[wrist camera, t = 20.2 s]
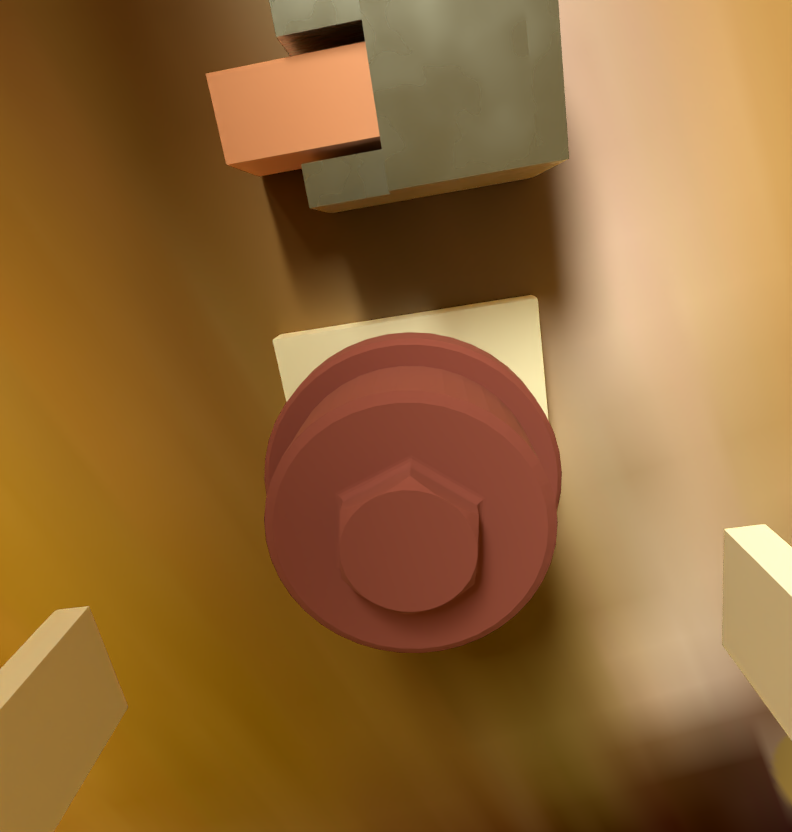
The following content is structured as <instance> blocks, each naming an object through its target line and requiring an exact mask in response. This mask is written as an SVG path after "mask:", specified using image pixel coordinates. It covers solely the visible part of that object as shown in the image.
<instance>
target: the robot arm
mask: <svg viewBox="0 0 792 832" xmlns="http://www.w3.org/2000/svg"><path fill="white" fill-rule="evenodd" d="M722 645H723V647H724V648H725V649H726V651H727V652H728V653H729V655H730V656H731V658H732V659H733V660H734V662H735V663H736V664H737V666H738V667H739V669H740V670H741V671H742V673H743V674H744V676H745V677H746V678H747V680H748V681H749V682H750V684H751V685H752V687H753V688H754V689H755V691H756V692H757V693H758V695H759V696H760V698H761V699H762V700H763V702H764V703H765V705H766V706H767V707H768V709H769V710H770V711H771V713H772V714H773V716H774V717H775V718H776V720H777V721H778V722H779V724H780V725H781V727H782V728H783V729H784V731H785V732H786V734H787V735H788V736H789V738H790V739H791V740H792V547H791V546H790V545H789V544H787V543H786V542H785V541H784V540H783V539H782V538H780V537H779V536H778V535H777V534H776V533H775V532H773V531H772V530H771V529H770V528H769V527H768V526H767V525H765V524H762V525H753V526H745V527H737V528H729V529H724V559H723V622H722ZM127 708H128V705H127V703H126V700H125V697H124V695H123V692H122V690H121V687H120V685H119V682H118V679H117V677H116V674H115V672H114V669H113V667H112V664H111V661H110V659H109V656H108V654H107V651H106V648H105V646H104V643H103V641H102V638H101V636H100V633H99V630H98V628H97V625H96V623H95V620H94V618H93V615H92V612H91V610H90V607H89V606H85V607H77V608H69V609H61V610H55V611H54V612H53V613H52V614H51V615H50V616H49V618H48V619H47V620H46V621H45V622H44V623H43V624H42V625H41V626H40V627H39V628H38V629H37V630H36V631H35V633H34V634H33V635H32V636H31V637H30V638H29V639H28V640H27V641H26V642H25V643H24V644H23V645H22V646H21V647H20V649H19V650H18V651H17V652H16V653H15V654H14V655H13V656H12V657H11V658H10V659H9V660H8V661H7V662H6V663H5V665H4V666H3V667H2V668H1V669H0V832H54V830H55V829H56V827H57V825H58V824H59V822H60V820H61V819H62V817H63V815H64V814H65V812H66V810H67V808H68V807H69V805H70V803H71V802H72V800H73V798H74V797H75V795H76V793H77V792H78V790H79V788H80V787H81V785H82V783H83V782H84V780H85V778H86V777H87V775H88V773H89V772H90V770H91V768H92V767H93V765H94V763H95V762H96V760H97V758H98V757H99V755H100V753H101V752H102V750H103V748H104V747H105V745H106V743H107V742H108V740H109V738H110V737H111V735H112V733H113V732H114V730H115V728H116V727H117V725H118V723H119V722H120V720H121V718H122V717H123V715H124V713H125V712H126V710H127Z"/></svg>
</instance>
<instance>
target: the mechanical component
mask: <svg viewBox="0 0 792 832" xmlns="http://www.w3.org/2000/svg"><path fill="white" fill-rule="evenodd" d="M561 477H562V471H561V462H560V453H559V449H558V445H557V442H556V438H555V435H554V432H553V430H552V427H551V425H550V423H549V421H548V419H547V416H546V414H545V413H544V411H543V410H542V408H541V406H540V405H539V403H538V402H537V400H536V399H535V397H534V396H533V394H532V393H531V392H530V390H529V389H528V388H527V386H526V385H525V384H524V382H523V381H522V380H521V379H520V378H519V377H518V376H517V375H516V374H515V373H514V372H513V371H512V370H511V369H510V368H509V367H508V366H506V365H505V364H504V363H502V362H501V361H499V360H498V359H497V358H495V357H494V356H492V355H491V354H489V353H487V352H486V351H484V350H482V349H480V348H478V347H476V346H474V345H472V344H469V343H466V342H464V341H461V340H458V339H455V338H452V337H447V336H442V335H437V334H432V333H416V332H405V333H394V334H386V335H382V336H378V337H374V338H369V339H366V340H363V341H361V342H358V343H356V344H353V345H351V346H348V347H346V348H344V349H343V350H341V351H339V352H338V353H336V354H334V355H332V356H331V357H329V358H328V359H327V360H325V361H324V362H323V363H322V364H320V365H319V366H318V367H317V368H315V369H314V370H313V371H312V372H311V373H310V374H309V375H308V376H307V378H306V379H305V380H304V381H303V382H302V383H301V384H300V385H299V386H298V388H297V389H296V390H295V392H294V393H293V394H292V396H291V397H290V398H289V400H288V401H287V402H286V403H285V405H284V407H283V409H282V411H281V412H280V414H279V416H278V418H277V420H276V422H275V424H274V427H273V430H272V433H271V436H270V438H269V442H268V447H267V453H266V458H265V487H266V496H267V497H266V505H265V517H264V523H265V534H266V542H267V546H268V549H269V553H270V557H271V560H272V563H273V565H274V567H275V569H276V571H277V574H278V576H279V578H280V580H281V581H282V583H283V584H284V586H285V587H286V589H287V590H288V592H289V593H290V595H291V596H292V597H293V598H294V599H295V601H296V602H297V603H298V604H299V605H300V606H301V607H302V608H303V609H304V611H306V612H307V613H308V614H309V615H310V616H312V617H313V618H314V619H315V620H317V621H318V622H319V623H320V624H322V625H323V626H325V627H326V628H328V629H330V630H331V631H333V632H335V633H336V634H338V635H340V636H342V637H344V638H347V639H349V640H351V641H354V642H356V643H358V644H362V645H365V646H369V647H372V648H375V649H380V650H386V651H393V652H399V653H425V652H434V651H442V650H446V649H450V648H454V647H458V646H462V645H465V644H467V643H470V642H472V641H475V640H477V639H480V638H482V637H484V636H486V635H488V634H489V633H491V632H493V631H495V630H496V629H498V628H500V627H501V626H502V625H504V624H505V623H506V622H507V621H509V620H510V619H511V618H513V617H514V616H515V615H516V614H517V613H518V612H519V611H520V610H521V609H522V608H523V607H524V606H525V605H526V604H527V603H528V602H529V601H530V599H531V598H532V597H533V595H534V594H535V592H536V591H537V589H538V588H539V586H540V585H541V583H542V581H543V579H544V577H545V575H546V573H547V570H548V568H549V566H550V564H551V560H552V556H553V553H554V549H555V545H556V536H557V523H558V522H557V508H558V503H559V498H560V494H561Z"/></svg>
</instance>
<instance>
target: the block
mask: <svg viewBox="0 0 792 832" xmlns="http://www.w3.org/2000/svg"><path fill="white" fill-rule="evenodd" d="M405 332H416V333H432V334H437V335H442V336H447V337H452V338H455V339H458V340H461V341H464V342H466V343H469V344H472V345H474V346H476V347H478V348H480V349H482V350H484V351H486V352H487V353H489V354H491V355H492V356H494V357H495V358H497V359H498V360H499V361H501V362H502V363H504V364H505V365H506V366H508V367H509V368H510V369H511V370H512V371H513V372H514V373H515V374H516V375H517V376H518V377H519V378H520V379H521V380H522V381H523V382H524V384H525V385H526V386H527V388H528V389H529V390H530V392H531V393H532V394H533V396H534V397H535V399H536V400H537V402H538V403H539V405H540V406H541V408H542V410H543V411H544V413H545V414H546V416H547V419H548V410H547V399H546V387H545V376H544V365H543V354H542V342H541V331H540V320H539V309H538V298H536V297H535V296H533V295H527V296H520V297H514V298H508V299H501V300H495V301H489V302H482V303H476V304H470V305H463V306H457V307H451V308H444V309H438V310H432V311H425V312H419V313H413V314H406V315H400V316H394V317H387V318H381V319H375V320H368V321H362V322H356V323H349V324H343V325H337V326H330V327H324V328H318V329H311V330H305V331H299V332H292V333H286V334H280V335H279V336H277V337H276V338H274V339H273V345H274V349H275V353H276V358H277V362H278V367H279V371H280V375H281V380H282V384H283V389H284V393H285V397H286V402H287V401H288V400H289V398H290V397H291V396H292V394H293V393H294V392H295V390H296V389H297V388H298V386H299V385H300V384H301V383H302V382H303V381H304V380H305V379H306V378H307V376H308V375H309V374H310V373H311V372H312V371H313V370H314V369H315V368H317V367H318V366H319V365H320V364H322V363H323V362H324V361H325V360H327V359H328V358H329V357H331V356H332V355H334V354H336V353H338V352H339V351H341V350H343V349H344V348H346V347H348V346H351V345H353V344H356V343H358V342H361V341H363V340H366V339H369V338H374V337H378V336H382V335H386V334H394V333H405Z"/></svg>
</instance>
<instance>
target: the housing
mask: <svg viewBox="0 0 792 832" xmlns="http://www.w3.org/2000/svg"><path fill="white" fill-rule="evenodd" d="M269 3H270V8H271V13H272V18H273V23H274V28H275V33H276V37H277V39H278V40H279V41H280V43H281V44H282V45H283V47H284V48H285V50H286V51H287V52H288V54H289V55H290V56H295V55H300V54H305V53H310V52H315V51H320V50H325V49H330V48H335V47H340V46H345V45H350V44H355V43H359V42H364V41H365V44H366V50H367V57H368V63H369V69H370V76H371V82H372V89H373V95H374V102H375V108H376V115H377V121H378V127H379V134H380V140H381V147H382V149H380V150H375V151H369V152H364V153H358V154H353V155H348V156H342V157H337V158H331V159H326V160H320V161H315V162H310V163H304V164H301V167H302V172H303V177H304V183H305V188H306V193H307V198H308V203H309V208H311V209H315V210H319V211H324V212H328V213H335V212H341V211H347V210H352V209H358V208H364V207H369V206H375V205H381V204H387V203H392V202H398V201H404V200H409V199H415V198H421V197H426V196H432V195H438V194H443V193H449V192H455V191H460V190H466V189H472V188H478V187H483V186H489V185H495V184H500V183H506V182H512V181H517V180H523V179H529V178H533V177H535V176H537V175H539V174H541V173H543V172H545V171H547V170H548V169H550V168H552V167H554V166H556V165H558V164H560V163H562V162H564V161H566V160H568V159H569V152H568V137H567V123H566V108H565V93H564V79H563V64H562V50H561V35H560V20H559V6H558V0H269Z"/></svg>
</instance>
